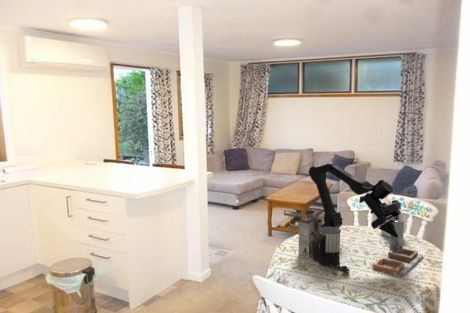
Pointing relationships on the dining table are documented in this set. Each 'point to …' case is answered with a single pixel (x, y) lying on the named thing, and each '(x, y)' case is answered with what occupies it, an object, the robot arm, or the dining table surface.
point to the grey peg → (397, 243)
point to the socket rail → (401, 268)
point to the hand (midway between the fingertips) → (399, 235)
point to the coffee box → (308, 234)
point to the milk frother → (328, 248)
